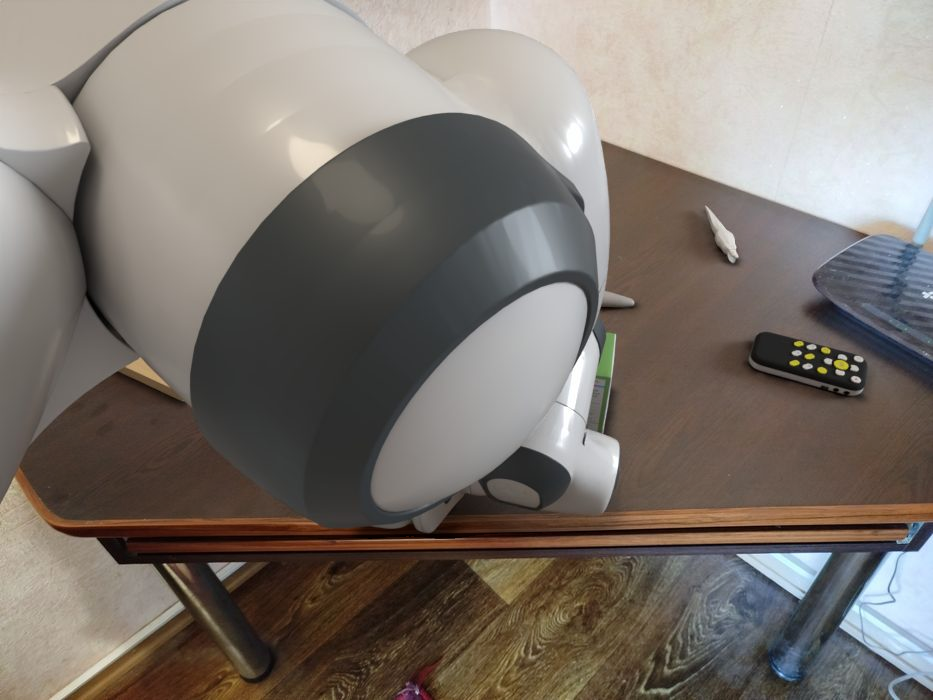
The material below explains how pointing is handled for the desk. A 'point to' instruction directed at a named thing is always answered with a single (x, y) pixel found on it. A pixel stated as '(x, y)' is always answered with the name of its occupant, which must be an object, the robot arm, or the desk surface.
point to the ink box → (602, 386)
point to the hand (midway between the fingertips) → (331, 418)
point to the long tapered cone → (616, 300)
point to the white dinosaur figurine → (722, 236)
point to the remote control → (809, 363)
